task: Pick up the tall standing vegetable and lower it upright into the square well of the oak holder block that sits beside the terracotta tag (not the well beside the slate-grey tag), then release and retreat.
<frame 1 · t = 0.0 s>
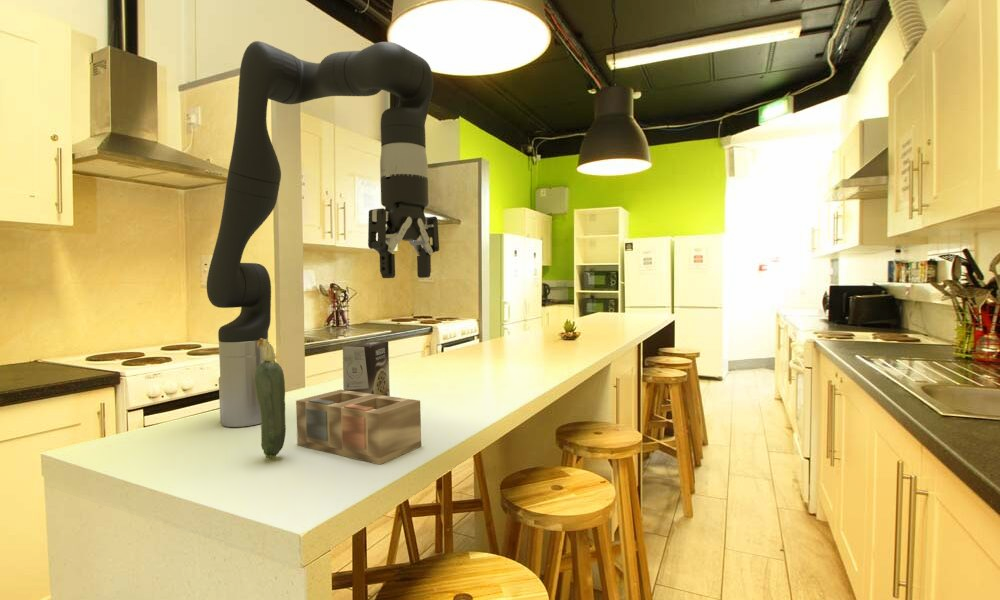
hand: (406, 277, 81), 29 cm above the countertop, fingers open, 8 cm apart
coffee box: (368, 420, 105), on the countertop
vegetable: (272, 461, 82), on the countertop
holder: (358, 445, 89), on the countertop
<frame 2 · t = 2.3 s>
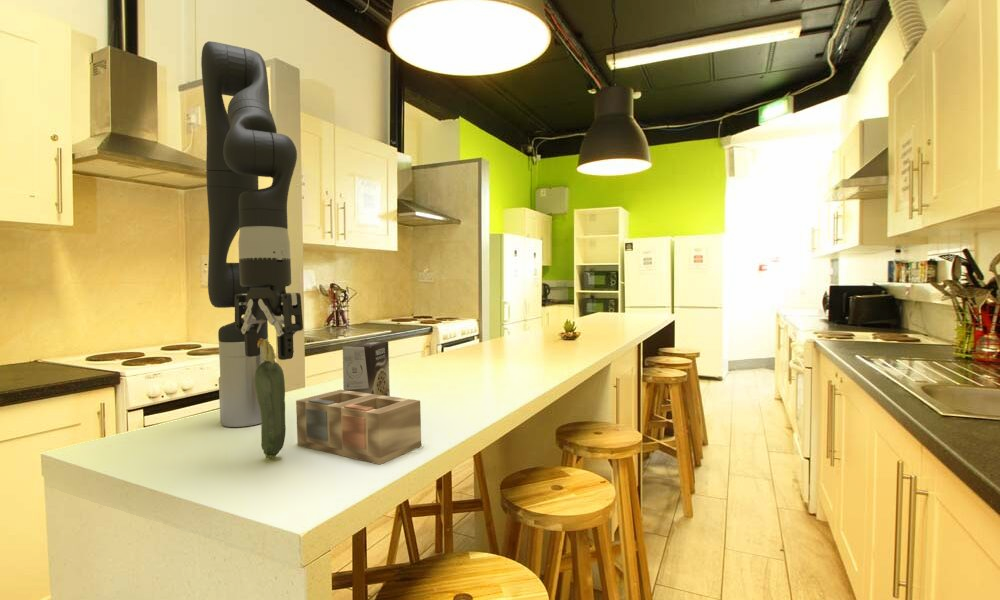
hand: (269, 357, 81), 17 cm above the countertop, fingers open, 8 cm apart
nothing on the countertop moved.
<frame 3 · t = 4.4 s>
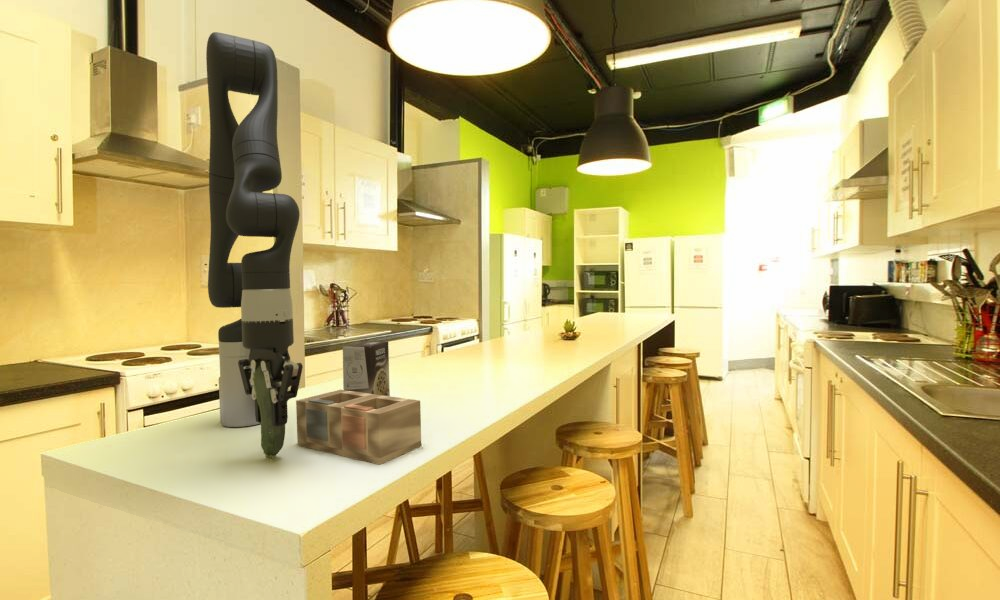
hand: (271, 422, 82), 6 cm above the countertop, fingers closed on vegetable, 3 cm apart
vegetable: (272, 461, 82), on the countertop, touching gripper
everything else where it was.
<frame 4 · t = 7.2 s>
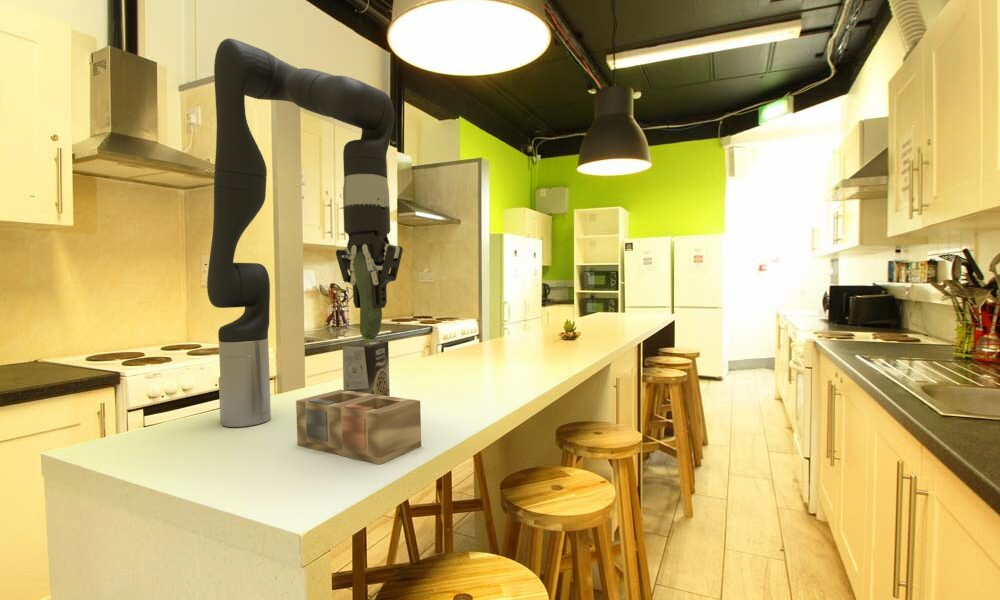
hand: (370, 307, 85), 24 cm above the countertop, fingers closed on vegetable, 3 cm apart
vegetable: (370, 345, 85), point 18 cm above the countertop, touching gripper
everything else where it was.
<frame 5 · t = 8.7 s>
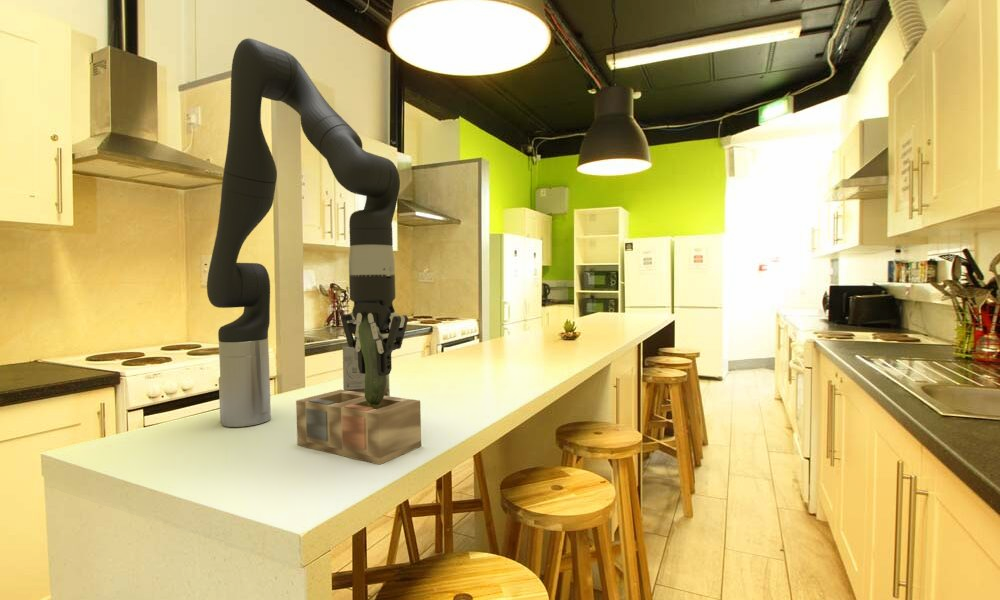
hand: (374, 373, 86), 13 cm above the countertop, fingers closed on vegetable, 3 cm apart
vegetable: (375, 410, 86), point 7 cm above the countertop, touching gripper
everything else where it was.
when the fingers open (9 cm above the countertop, at t = 9.9 s): vegetable drops 2 cm, resting on holder.
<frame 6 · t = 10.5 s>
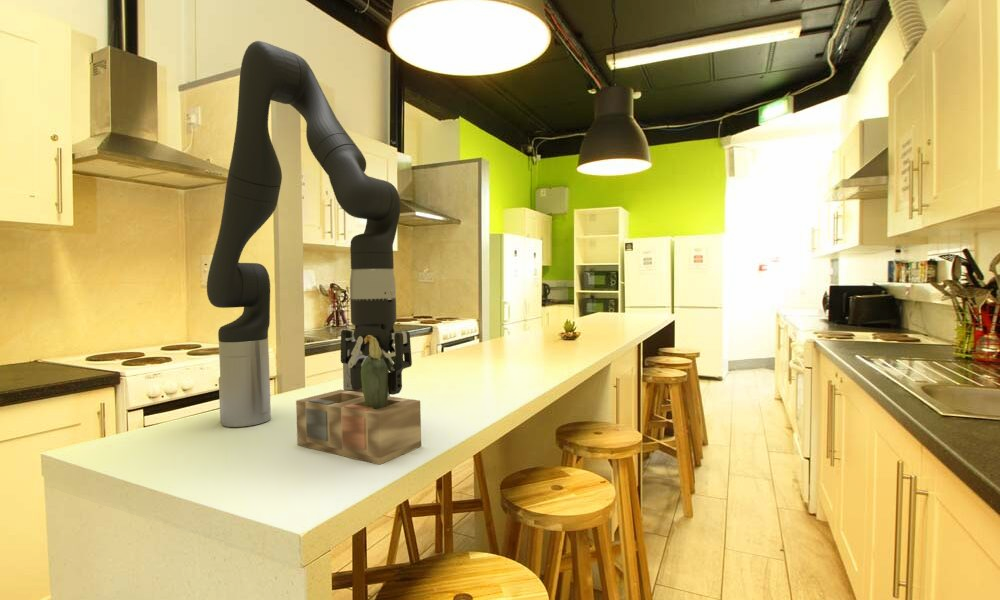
hand: (376, 391, 86), 10 cm above the countertop, fingers open, 8 cm apart
vegetable: (372, 443, 87), point 1 cm above the countertop, touching gripper, holder
everything else where it was.
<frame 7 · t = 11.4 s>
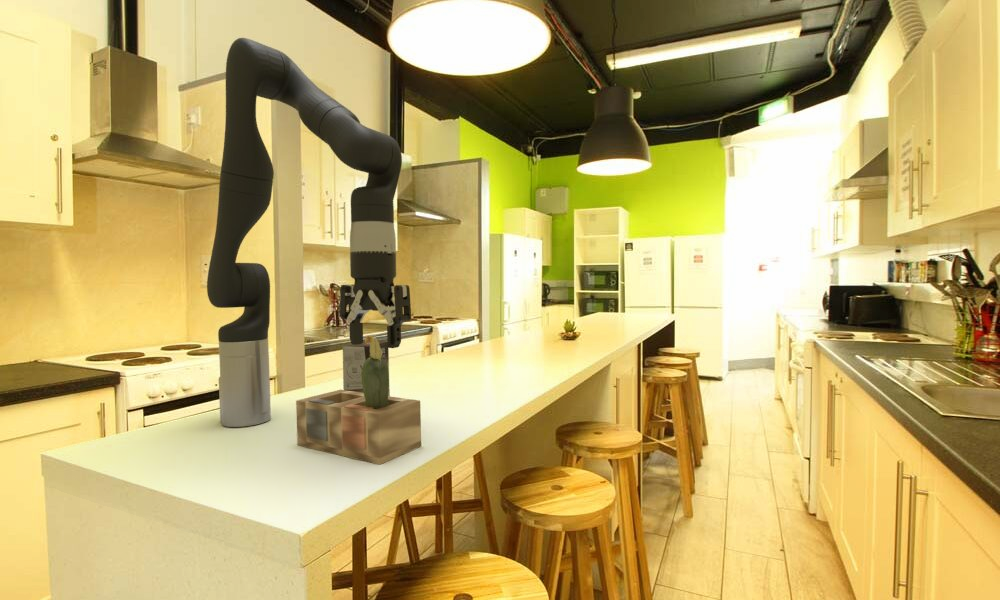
hand: (375, 345, 86), 18 cm above the countertop, fingers open, 8 cm apart
vegetable: (372, 443, 87), point 1 cm above the countertop, touching holder
everything else where it was.
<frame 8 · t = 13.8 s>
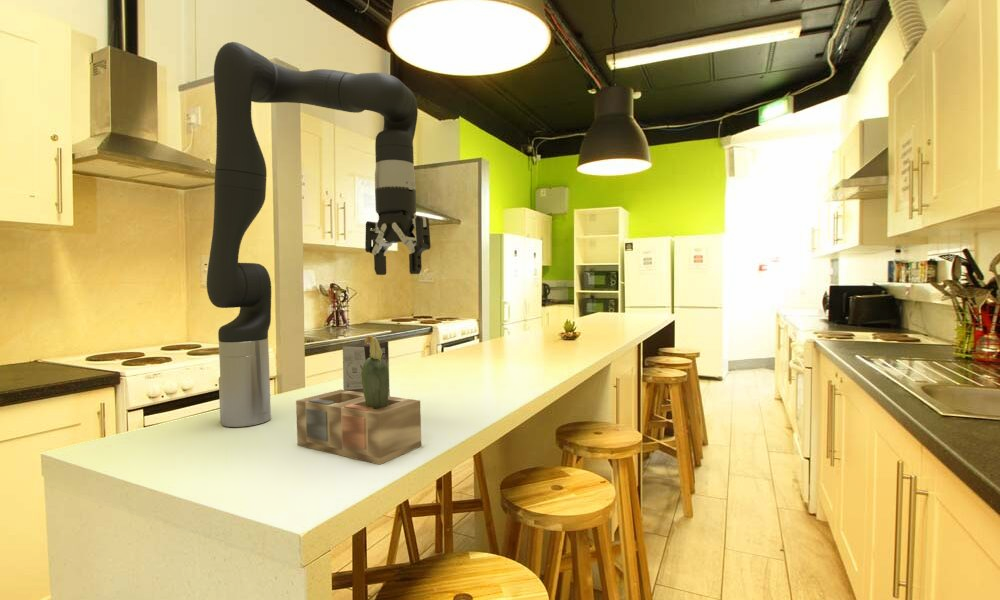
hand: (397, 274, 96), 30 cm above the countertop, fingers open, 8 cm apart
nothing on the countertop moved.
at the end: vegetable inside the target area on the holder (1.0 cm from its centre), point 0.9 cm above the holder's base; vegetable tilted 19°; the gripper is holding nothing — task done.
